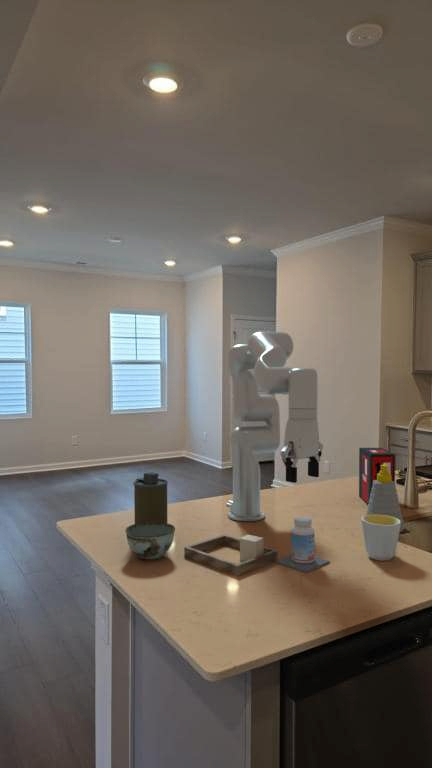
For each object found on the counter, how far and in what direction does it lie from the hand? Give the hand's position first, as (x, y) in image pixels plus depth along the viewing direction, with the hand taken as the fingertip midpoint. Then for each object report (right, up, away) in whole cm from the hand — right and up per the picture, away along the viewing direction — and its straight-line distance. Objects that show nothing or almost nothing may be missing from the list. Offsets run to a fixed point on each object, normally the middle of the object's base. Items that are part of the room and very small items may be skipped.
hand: (302, 479), depth 141 cm
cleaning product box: (+39, -21, +64) cm, 77 cm away
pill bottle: (0, -22, 0) cm, 22 cm away
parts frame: (-19, -22, +4) cm, 30 cm away
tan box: (-13, -22, +2) cm, 26 cm away
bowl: (-41, -23, +5) cm, 47 cm away
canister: (-43, -22, +21) cm, 53 cm away
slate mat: (0, -22, 0) cm, 22 cm away
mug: (+23, -22, +6) cm, 32 cm away
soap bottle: (+31, -22, +31) cm, 49 cm away
